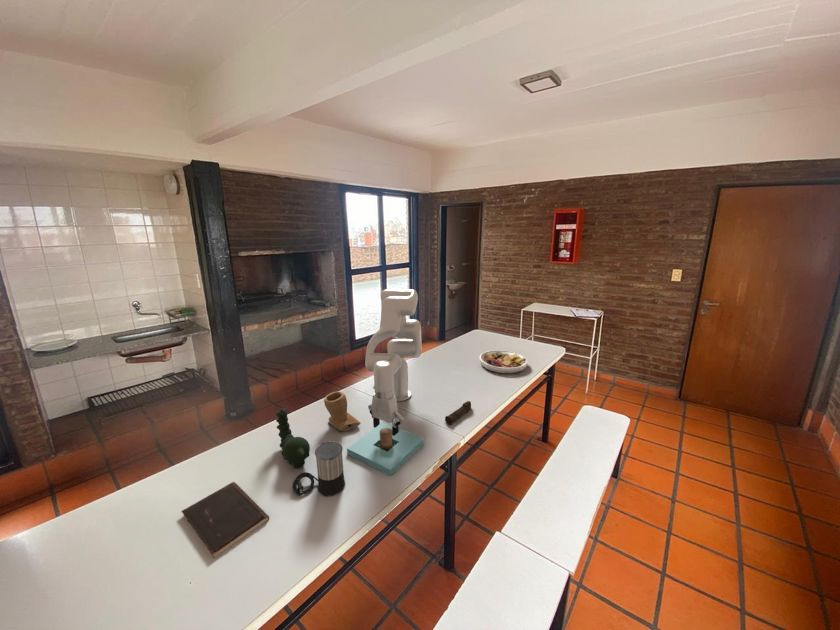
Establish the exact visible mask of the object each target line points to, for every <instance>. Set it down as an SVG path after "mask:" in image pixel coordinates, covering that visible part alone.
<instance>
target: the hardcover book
mask: <svg viewBox="0 0 840 630" xmlns="http://www.w3.org/2000/svg"><path fill="white" fill-rule="evenodd" d="M181 513H182V515H183V516H184V517H185V518H186V520H187V521H188V523H189V524H190V525H191V528H192V529H194V531H195V533H196V534H197V536H198V537H199V538H200V540H201V541H202V542H203V544H204V545H205V546H206V548H207V549H208V551H209V553H210V554H211V555H212V556H213V558H216V557H218V555H220V554H221V553H222V552H225V550H227V549H228V548H230V547H231V546H233V545H234V544H235V543H238V542H239V541H240V540H242V539H243V538H244V537H245V536H247V535H249V534H250V533H251V532H253V531H254V530H255V529H257V528H259V527H260V526H261V525H262V524H264V523H266V522H267V521H269V520H270V515H268V514H267V513H266V512H265V511H264V509H262V508H261V507H260V506H259V505H258V504H257V503H256V502H255V500H253V499H252V497H250V496H249V495H248V494H247V492H245V491H244V490H243V489H242V488H241V487H240V486H239V484H237V483H236V482H235V481H231V483H229V484H227V485H225V486H224V487H223V486H222V487H221V488H220V489H218V490H216V491H215V492H213V493H211V494H209V495H208V496H205V497H203V498H202V499H200V500H198V501H196V502H195V503H193V504H191V505H190V506H187V507H186V508H185V509H182V510H181Z"/></svg>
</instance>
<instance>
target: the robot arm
mask: <svg viewBox="0 0 840 630" xmlns="http://www.w3.org/2000/svg"><path fill="white" fill-rule="evenodd" d="M380 300H381V302H382V303H381V311H380V321H379V328H378V330H377V331H376V332H375V333H374V334H373V335H372V337H371V338H370V339H369V341H368V343H367V347H366V351H365V362H364V364H365V365H364V366H365V369H366V370H367V371H368V372H371V373H373V381H374V382H373V383H374V385H373V387H372V389H374V393H373V394H372V395H373V396H372V400H371V404H368V405H367V408H368V410H369V414H370V415H371V419H372V420H373V421H372V422H373V423H372V424H373V425H372V426H373V429H374V428H376V427H377V426H378V425H379V424H380V423H381V421H382V422H384V423H387V424H391V426H393V427H392V435H393V436H395V435H396V434H397V433H398V432H399V429H400V428H399V425H401V424H402V423H403V421H404V419H405V418H404V417H403V415H401V413H399V412H398V411H399V410H398V402H402V401H406V400H409V399H410V398H411V397H412V392H411V391H410V390H409V366H408V362H407V360H406V358H407V359H408V358H411V359H416V358H419V357H421V355H422V349H423V348H422V325H421V322H420V321H419V320H418V319H413V318H412V319H411V318H407V317H409V316H410V317H411V316H414V315H415V313H416V311H417V305H418V301H419V295H418V292H417V291H416V289H411V288H409V289H408V288H407V289H406V288H403V289H402V288H387V289H383V290H382V291H381V292H380ZM391 337H392V338H393V339H391V340H390V339H389V338H391ZM387 339H389V341H388V342H387V345H386V350H387V353H386V352H385V353H384V352H375V349H376V347H377V346H378V345H379V344H380V343H381V342H383V341H385V340H387Z"/></svg>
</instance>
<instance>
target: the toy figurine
mask: <svg viewBox="0 0 840 630" xmlns="http://www.w3.org/2000/svg"><path fill="white" fill-rule="evenodd" d="M275 415H276V416H277V418H276V420H275V421H276V423H277V424H278V425H277V426H276V429H277V430H279V432H278V434H277V435H278V437H280V443H279V447H280V448H281V450H282V451H281V455H282V456H283V459H284V461H286V462H288V464H289V465H292V466H293V468H295V469H300V468H303V466H305V463H306V459H307V458H309V457H310V451H311V446H310V443H309V441H308V440H307V439H306V438H304V437H301V436H295V437H294V435H293V434H292V430H291V428H290V427H291V426H290V425H291V424H290V423H289V422H288V421H289V418H288V411H287V408H280V409H279V410H278V412H276V413H275Z"/></svg>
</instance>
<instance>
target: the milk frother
mask: <svg viewBox="0 0 840 630" xmlns="http://www.w3.org/2000/svg"><path fill="white" fill-rule="evenodd" d="M343 450H344V449H343V446H342V444H340V443H339V442H337V441H328V440H327V441H324V442H321V444H320V445H318V446H317V447H316V448H315V450H314V456H315V459H316V460H315V461H316V472H317V478H316V477H315V476H314V475H313V474H312V473H310V472H305V471H304V472H301V473H299V474H298V475H297V476H296V477H295V479H294V480H293V482H292V491H293V493H294V494H296V495H298V496H302V495H306V494H308V493H310V492H311V491H312V490H313V488H314V486H315V481H317V485H318V486H317V491H318V493H319V494H320V495H322V496H325V497H333V496H335V495H338V494H339V493H341V492H342V491H343V490H344V488H345V486H346V482H345V476H344V463H343V462H344V461H343V460H344V459H343ZM303 478H307V479H309V481H310V485H309V486H308V488H306V489H304V485H303V484H302V481H301V479H303Z"/></svg>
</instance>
